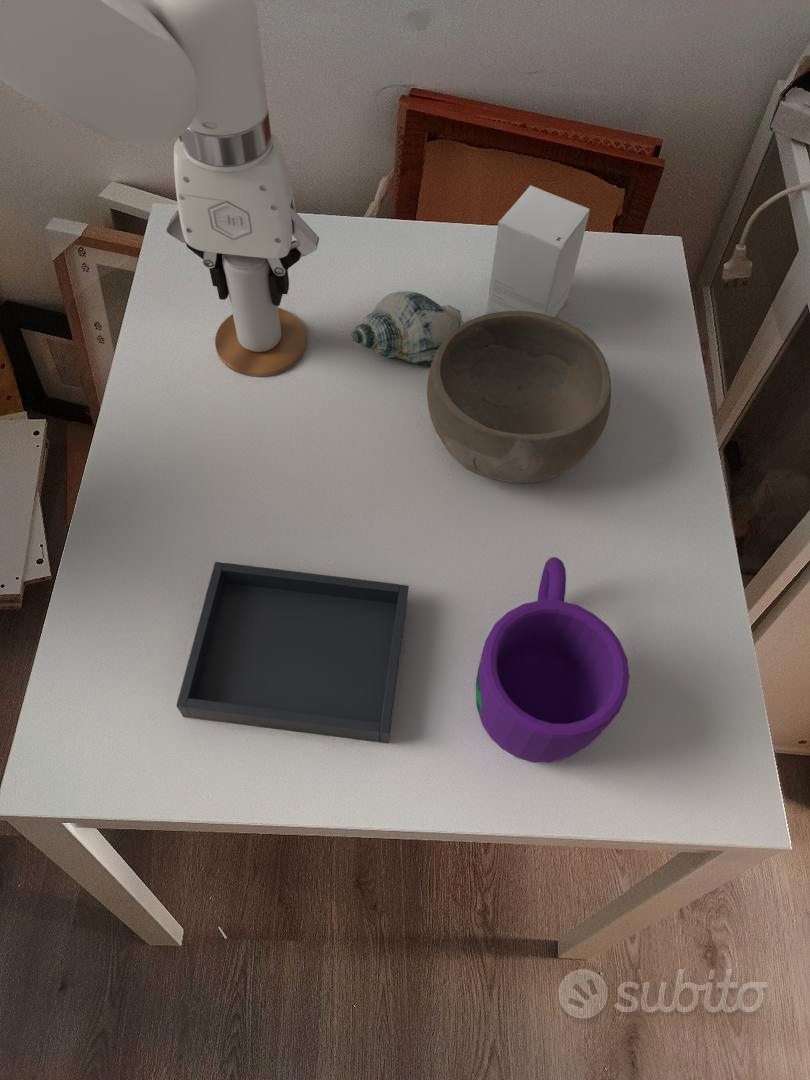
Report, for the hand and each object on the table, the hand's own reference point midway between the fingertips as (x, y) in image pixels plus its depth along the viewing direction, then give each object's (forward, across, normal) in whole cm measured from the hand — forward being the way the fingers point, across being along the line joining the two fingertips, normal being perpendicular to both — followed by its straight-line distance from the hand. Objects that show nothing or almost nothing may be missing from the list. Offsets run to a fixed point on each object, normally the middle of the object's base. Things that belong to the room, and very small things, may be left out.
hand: (252, 291), depth 85 cm
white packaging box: (+8, +29, +10) cm, 32 cm away
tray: (+7, +11, -36) cm, 38 cm away
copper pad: (+7, 0, 0) cm, 7 cm away
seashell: (+8, +16, +2) cm, 18 cm away
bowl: (+8, +28, -9) cm, 30 cm away
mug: (+8, +32, -35) cm, 48 cm away
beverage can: (+7, 0, 0) cm, 7 cm away
